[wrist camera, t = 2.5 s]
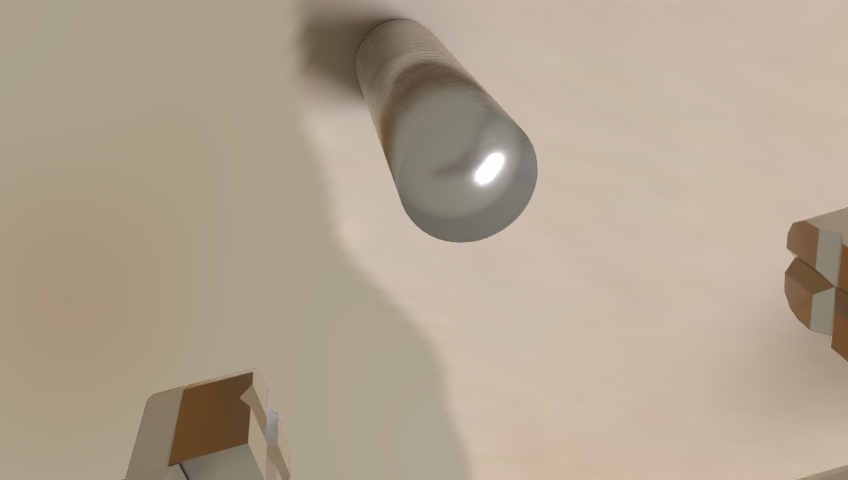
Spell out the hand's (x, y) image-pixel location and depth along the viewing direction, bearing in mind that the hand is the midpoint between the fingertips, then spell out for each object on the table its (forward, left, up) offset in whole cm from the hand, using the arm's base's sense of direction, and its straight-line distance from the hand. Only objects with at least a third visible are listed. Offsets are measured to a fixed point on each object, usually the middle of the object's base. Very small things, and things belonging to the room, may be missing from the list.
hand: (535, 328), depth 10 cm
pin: (0, 0, -15) cm, 15 cm away
